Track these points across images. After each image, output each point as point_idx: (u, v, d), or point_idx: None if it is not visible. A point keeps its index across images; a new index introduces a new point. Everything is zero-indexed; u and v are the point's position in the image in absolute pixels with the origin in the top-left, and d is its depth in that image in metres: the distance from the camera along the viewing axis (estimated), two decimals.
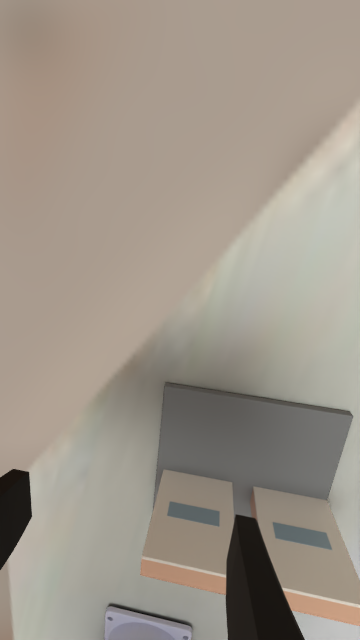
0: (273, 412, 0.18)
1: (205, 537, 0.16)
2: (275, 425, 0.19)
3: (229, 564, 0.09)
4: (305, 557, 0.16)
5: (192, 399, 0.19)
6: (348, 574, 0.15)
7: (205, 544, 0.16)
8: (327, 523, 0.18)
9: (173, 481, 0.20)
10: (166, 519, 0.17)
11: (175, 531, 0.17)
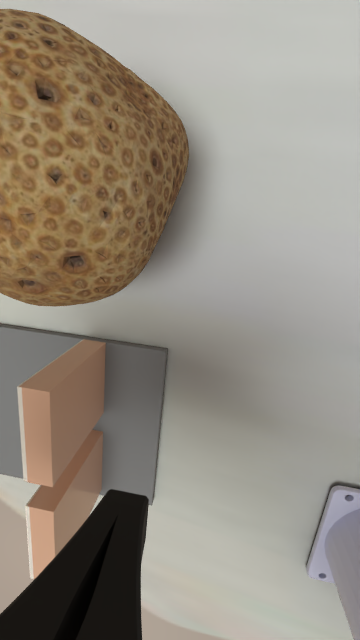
0: None
1: None
2: (11, 389, 0.19)
3: None
4: None
5: (4, 454, 0.21)
6: None
7: None
8: None
9: None
10: None
11: None
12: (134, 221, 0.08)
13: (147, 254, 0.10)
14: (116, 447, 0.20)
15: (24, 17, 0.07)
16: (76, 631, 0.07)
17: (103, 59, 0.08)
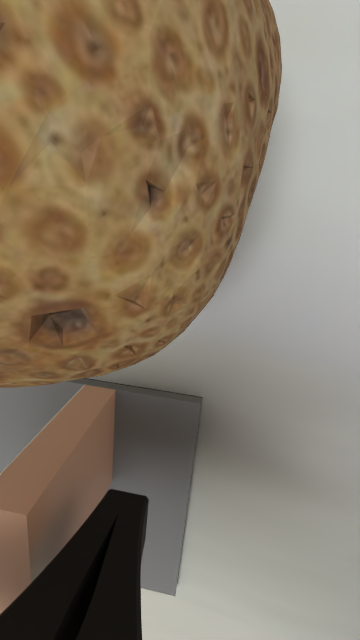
0: None
1: None
2: None
3: None
4: None
5: None
6: None
7: None
8: None
9: None
10: None
11: None
12: (215, 215, 0.03)
13: (218, 285, 0.05)
14: None
15: None
16: (76, 631, 0.07)
17: None
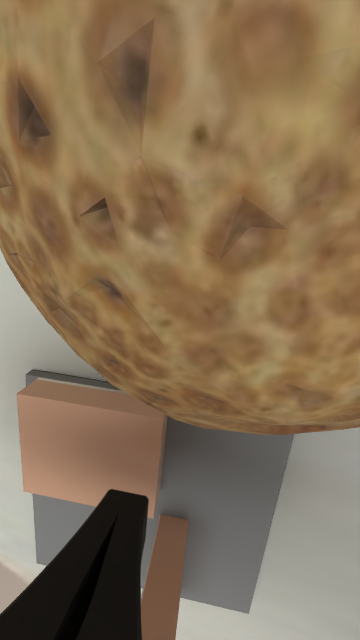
0: None
1: None
2: None
3: None
4: None
5: (46, 540, 0.16)
6: None
7: None
8: None
9: None
10: None
11: None
12: None
13: None
14: (205, 540, 0.14)
15: None
16: (76, 631, 0.07)
17: None
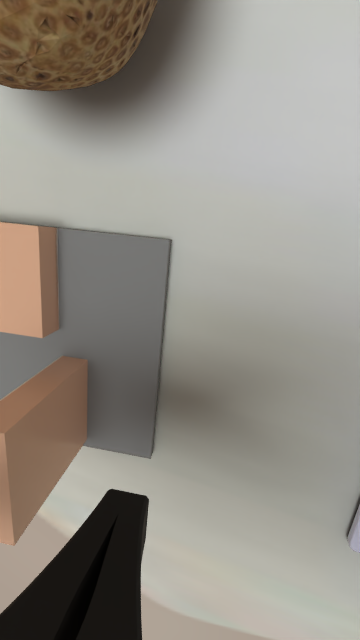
0: None
1: None
2: None
3: None
4: None
5: None
6: None
7: None
8: None
9: None
10: None
11: None
12: None
13: None
14: (104, 381, 0.15)
15: None
16: (76, 631, 0.07)
17: None
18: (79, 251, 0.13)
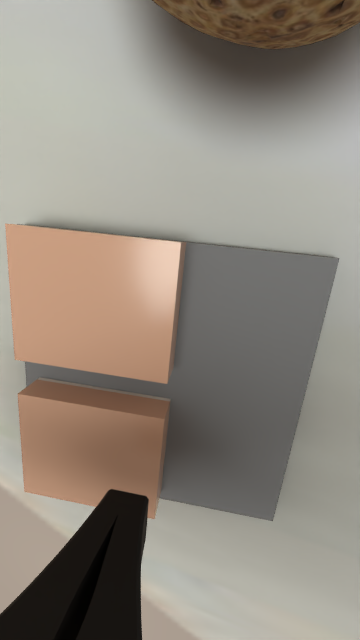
0: None
1: None
2: None
3: None
4: None
5: None
6: None
7: None
8: None
9: None
10: None
11: None
12: None
13: None
14: (225, 429, 0.12)
15: None
16: (76, 631, 0.07)
17: None
18: (212, 272, 0.11)
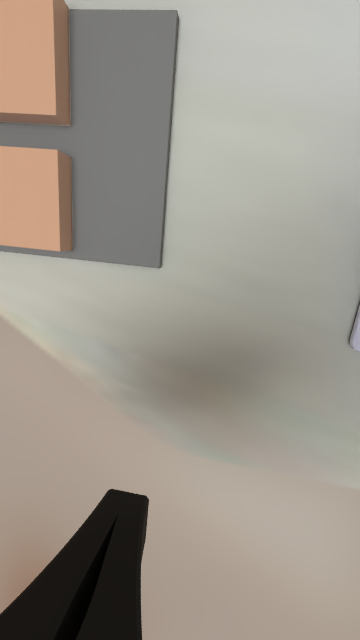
0: None
1: None
2: None
3: None
4: None
5: None
6: None
7: None
8: None
9: None
10: None
11: None
12: None
13: None
14: (114, 182, 0.16)
15: None
16: (76, 631, 0.07)
17: None
18: (90, 34, 0.14)
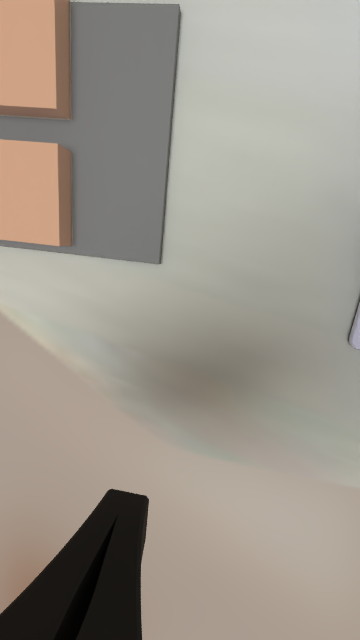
0: None
1: None
2: None
3: None
4: None
5: None
6: None
7: None
8: None
9: None
10: None
11: None
12: None
13: None
14: (114, 177, 0.16)
15: None
16: (76, 631, 0.07)
17: None
18: (92, 27, 0.14)
